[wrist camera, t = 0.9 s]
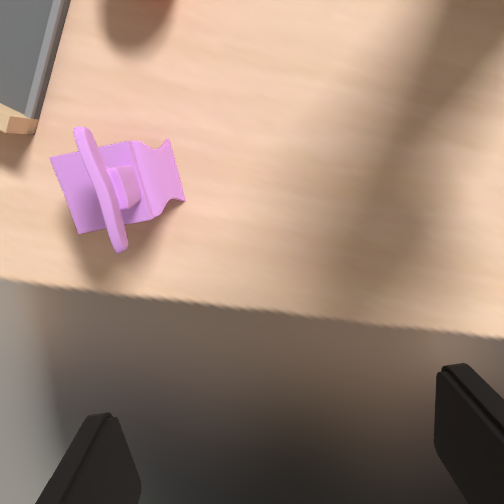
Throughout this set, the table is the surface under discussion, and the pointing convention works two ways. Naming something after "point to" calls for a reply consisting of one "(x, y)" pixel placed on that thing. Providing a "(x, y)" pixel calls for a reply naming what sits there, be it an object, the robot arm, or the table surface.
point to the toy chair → (116, 184)
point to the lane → (27, 59)
